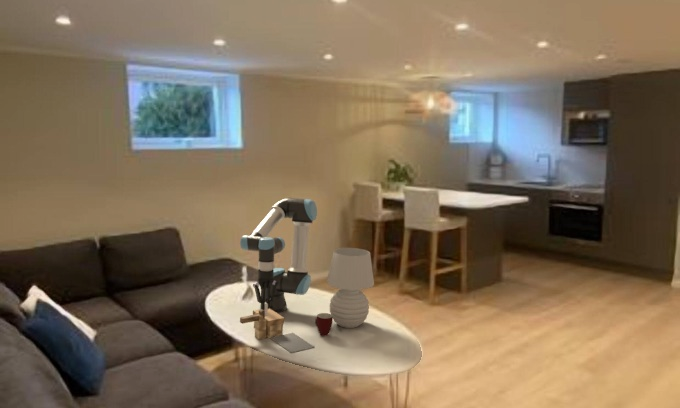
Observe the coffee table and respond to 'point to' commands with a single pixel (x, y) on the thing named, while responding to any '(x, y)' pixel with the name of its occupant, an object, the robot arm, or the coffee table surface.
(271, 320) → the lid
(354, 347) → the coffee table surface
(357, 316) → the table lamp
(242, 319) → the key
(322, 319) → the mug
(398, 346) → the coffee table surface
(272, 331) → the open wooden box
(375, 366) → the coffee table surface
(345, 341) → the coffee table surface
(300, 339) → the mat
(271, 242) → the robot arm
